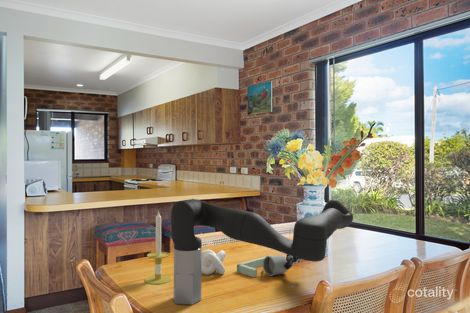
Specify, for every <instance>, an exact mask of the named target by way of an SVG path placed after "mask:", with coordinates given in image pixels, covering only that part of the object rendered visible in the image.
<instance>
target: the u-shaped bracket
mask: <svg viewBox="0 0 470 313" xmlns="http://www.w3.org/2000/svg"><path fill="white" fill-rule="evenodd" d="M267 256H268V255H267ZM267 256H266V255H265V256H263V257H258V258H256V259H251V260H248V261H244V262H240V263H237V264H236V272H238V273H241V274H243V275H246V276H249V277H252V278H256V277H258V269H257V268H259V267H263V262H264V259H265V258H266V257H267Z"/></svg>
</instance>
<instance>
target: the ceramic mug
mask: <svg viewBox="0 0 470 313" xmlns="http://www.w3.org/2000/svg"><path fill="white" fill-rule="evenodd" d="M265 257H266V256H265ZM286 263H287V260H286V257H285V256H284V255H280V254H279V255H267V257H266V258H265V259H264V262H263V266H262V268H263V269H262V270H264V273H265V274H266V275H267V276H268V277H271V276H272V277H273V276H277V275H278V276H279V275H282V274H285V273H287V271H288V270H286V268H285V267H284V265H285V264H286Z"/></svg>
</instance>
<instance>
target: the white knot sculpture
mask: <svg viewBox="0 0 470 313" xmlns="http://www.w3.org/2000/svg"><path fill="white" fill-rule="evenodd" d="M226 254H227V253H226V251H224V250H222V249H221V250H219V251H218V252H217V253H215V251H214V250H211V249H205V250H203V251H202V256H201V274H203V275H205V276H209V275H211V274H213V273H214V272H215V271H217V273H218V274H219V275H224V274H225V273H226V268H225V266H224V264H223V262H224V260H225V259H226Z"/></svg>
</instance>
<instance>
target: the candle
mask: <svg viewBox="0 0 470 313" xmlns="http://www.w3.org/2000/svg"><path fill="white" fill-rule="evenodd" d="M146 257H147V258H148V259H154V275H151V276H148V277H146V278H145V280H144V283H146V284H148V285H156V286H157V285H163V284H167V283H169V282H170V281H172V277H171V276H169V275H165V274H164V275H163V274H162V259H165V258H167V257H170V253H169V252H166V251H162V216H161V214H160V210H158V211H157V214H156V216H155V251H154V252H153V251H152V252H149V253H148V254H146Z"/></svg>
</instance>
